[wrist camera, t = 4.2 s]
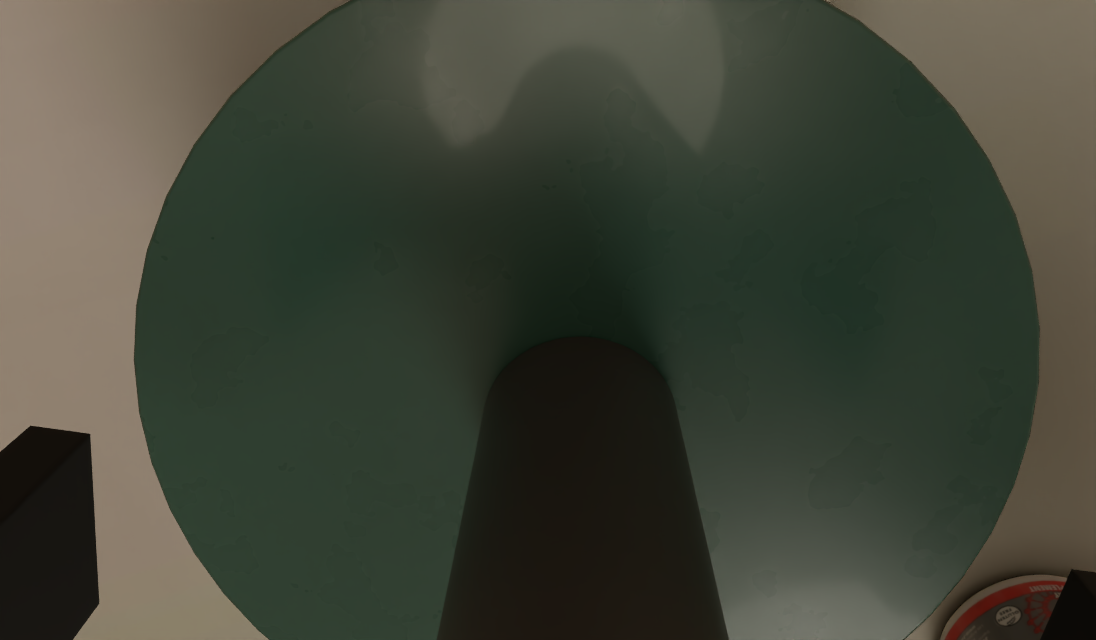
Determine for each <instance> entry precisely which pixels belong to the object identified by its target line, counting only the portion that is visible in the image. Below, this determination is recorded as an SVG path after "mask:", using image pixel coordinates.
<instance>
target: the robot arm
mask: <svg viewBox="0 0 1096 640" xmlns="http://www.w3.org/2000/svg"><path fill="white" fill-rule="evenodd" d="M98 604H99V591H98V572H97V554H96V535H95V516H94V498H93V479H92V460H91V442H90V434H87V433H80V432H72V431H65V430H58V429H51V428H43V427H36V426H30V427H29V428H27V429H26V430H25V431H24V432H23V433H22V434H20V435H19V436H18V437H17V438H16V439H15V440H13V441H12V442H11V443H10V444H9V445H8V446H7V447H5V448H4V449H3V450H2V451H1V452H0V640H73V639H74V637H75V636H76V635H77V633H78V632H79V630H80V629H81V628H82V626H83V625H84V624H85V622H86V621H87V619H88V618H89V617H90V615H91V614H92V613H93V611H94V610H95V609H96V607H97V606H98ZM1040 640H1096V573H1095V572H1088V571H1081V570H1074V569H1071V571H1070V574H1069V576H1068V578H1067V580H1066V582H1065V585H1064V587H1063V589H1062V591H1061V594H1060V596H1059V598H1058V600H1057V603H1056V605H1055V607H1054V609H1053V612H1052V614H1051V616H1050V618H1049V621H1048V623H1047V625H1046V627H1045V629H1044V632H1043V634H1042V636H1041V638H1040Z"/></svg>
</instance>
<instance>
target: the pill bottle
mask: <svg viewBox="0 0 1096 640" xmlns="http://www.w3.org/2000/svg"><path fill="white" fill-rule="evenodd" d="M1066 580H1067V578H1065V577H1060V576H1053V575H1027V576H1021V577H1015V578H1011V579H1008V580H1004V581H1001V582H998V583H996V584H993V585H991V586H989V587H987V588H985V589H983V590H982V591H980V592H978V593H976V594H975V595H974V596H972V597H971V598H970V599H968V600H967V601H966V602H964V603H963V604H962V605H961V606H960V607H959V608H958V609H957V611H956V612H955V613H954V614H953V615H952V617H951V618H950V619H949V621H948V622H947V624H946V626H945V628H944V630H943V632H942V635H941V638H940V640H1040V638H1041V636H1042V634H1043V632H1044V629H1045V627H1046V625H1047V623H1048V621H1049V618H1050V616H1051V614H1052V612H1053V609H1054V607H1055V605H1056V603H1057V600H1058V598H1059V596H1060V594H1061V591H1062V589H1063V587H1064V585H1065V582H1066Z"/></svg>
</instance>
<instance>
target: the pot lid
mask: <svg viewBox="0 0 1096 640" xmlns="http://www.w3.org/2000/svg"><path fill="white" fill-rule="evenodd" d="M1039 338H1040V326H1039V318H1038V311H1037V304H1036V296H1035V289H1034V281H1033V274H1032V268H1031V265H1030V262H1029V258H1028V255H1027V251H1026V248H1025V245H1024V241H1023V238H1022V235H1021V231H1020V228H1019V224H1018V221H1017V218H1016V214H1015V212H1014V210H1013V208H1012V206H1011V204H1010V202H1009V199H1008V197H1007V195H1006V193H1005V191H1004V189H1003V187H1002V185H1001V183H1000V180H999V178H998V176H997V174H996V172H995V170H994V168H993V166H992V164H991V162H990V160H989V158H988V157H987V155H986V154H985V152H984V151H983V149H982V148H981V146H980V145H979V143H978V142H977V140H976V139H975V137H974V136H973V135H972V133H971V132H970V130H969V129H968V127H967V126H966V124H965V123H964V121H963V120H962V118H961V117H960V115H959V114H958V112H957V111H956V110H955V108H954V107H953V106H952V105H951V104H950V103H949V102H948V101H947V100H946V99H945V97H944V96H943V95H942V94H941V93H940V92H939V91H938V90H937V89H936V88H935V87H934V86H933V85H932V84H931V82H930V81H929V80H928V79H927V78H926V77H925V76H924V75H923V74H922V73H921V72H920V71H919V70H918V69H917V67H916V66H915V65H914V64H913V63H912V62H911V61H910V60H908V59H907V58H906V57H905V56H903V55H902V54H901V53H900V52H898V51H897V50H896V49H895V48H893V47H892V46H891V45H889V44H888V43H887V42H886V41H884V40H883V39H882V38H881V37H879V36H878V35H877V34H876V33H874V32H873V31H872V30H870V29H869V28H868V27H867V26H865V25H864V24H863V23H862V22H860V21H859V20H857V19H856V18H854V17H852V16H850V15H849V14H847V13H845V12H843V11H842V10H840V9H838V8H836V7H835V6H833V5H831V4H829V3H828V2H826V1H824V0H350V1H348V2H346V3H345V4H343V5H341V6H339V7H337V8H335V9H333V10H331V11H329V12H328V13H327V14H325V15H324V16H323V17H321V18H320V19H318V20H317V21H316V22H314V23H313V24H312V25H310V26H309V27H308V28H306V29H305V30H303V31H302V32H301V33H299V34H298V35H297V36H295V37H294V38H292V39H291V40H290V41H288V42H287V43H286V44H284V45H283V46H281V47H280V48H279V49H277V50H276V51H275V52H274V53H273V54H272V55H271V56H270V57H269V58H268V59H267V60H266V61H265V62H264V63H263V64H262V65H261V66H260V67H259V68H258V69H257V70H256V71H255V72H254V73H253V74H252V75H251V76H250V77H249V78H248V79H247V80H246V81H245V82H244V83H243V84H242V85H241V86H240V87H239V88H238V89H237V90H236V91H235V92H234V93H232V94H231V96H230V97H229V98H228V100H227V101H226V102H225V104H224V105H223V106H222V108H221V109H220V110H219V112H218V113H217V114H216V116H215V117H214V118H213V120H212V121H211V122H210V124H209V125H208V126H207V128H206V129H205V130H204V132H203V133H202V134H201V136H200V137H199V138H198V140H197V141H196V142H195V144H194V145H193V147H192V149H191V151H190V153H189V155H188V157H187V158H186V160H185V162H184V164H183V166H182V168H181V170H180V172H179V173H178V175H177V177H176V179H175V181H174V183H173V185H172V186H171V188H170V190H169V192H168V194H167V196H166V198H165V201H164V204H163V207H162V210H161V212H160V215H159V218H158V221H157V224H156V226H155V229H154V232H153V235H152V238H151V240H150V243H149V246H148V249H147V253H146V258H145V263H144V268H143V274H142V279H141V284H140V289H139V294H138V299H137V304H136V325H135V347H134V365H135V375H136V385H137V395H138V405H139V413H140V417H141V422H142V426H143V430H144V434H145V438H146V442H147V446H148V450H149V454H150V458H151V462H152V465H153V467H154V470H155V472H156V475H157V477H158V480H159V483H160V485H161V488H162V490H163V493H164V495H165V498H166V500H167V503H168V505H169V508H170V510H171V512H172V514H173V516H174V517H175V519H176V521H177V523H178V525H179V526H180V528H181V530H182V532H183V534H184V535H185V537H186V539H187V541H188V543H189V544H190V546H191V548H192V550H193V552H194V553H195V555H196V556H197V558H198V559H199V560H200V562H201V563H202V564H203V566H204V567H205V568H206V570H207V571H208V573H209V574H210V575H211V577H212V578H213V579H214V581H215V582H216V583H217V585H218V586H219V588H220V589H221V590H222V592H223V593H224V594H225V595H226V596H227V597H228V599H229V600H230V601H231V602H232V603H233V604H234V605H235V606H236V607H237V608H238V609H239V610H240V611H241V612H242V614H243V615H244V616H245V617H246V618H247V619H248V620H249V621H250V622H251V623H252V624H253V625H254V626H255V627H256V629H257V630H258V631H260V632H261V633H262V634H263V635H264V636H266V637H267V638H268V639H269V640H904V639H906V638H907V637H908V636H909V635H910V634H911V633H912V632H913V631H914V630H915V629H916V628H917V627H918V626H919V625H921V624H922V623H923V622H924V621H925V620H926V619H927V618H928V617H929V616H930V615H931V614H932V613H933V612H934V610H935V609H936V608H937V607H938V606H939V605H940V603H941V602H942V601H943V600H944V599H945V597H946V596H947V595H948V594H949V593H950V592H951V590H952V589H953V588H954V587H955V586H956V584H957V583H958V582H959V581H960V580H961V579H962V577H963V576H964V575H965V573H966V571H967V570H968V568H969V567H970V565H971V564H972V562H973V561H974V559H975V558H976V556H977V555H978V553H979V551H980V550H981V548H982V547H983V545H984V544H985V542H986V541H987V539H988V538H989V536H990V535H991V533H992V531H993V529H994V527H995V525H996V522H997V520H998V518H999V516H1000V514H1001V512H1002V510H1003V508H1004V506H1005V504H1006V502H1007V499H1008V497H1009V495H1010V493H1011V491H1012V489H1013V487H1014V484H1015V481H1016V478H1017V475H1018V471H1019V468H1020V465H1021V462H1022V459H1023V456H1024V453H1025V449H1026V446H1027V443H1028V440H1029V437H1030V432H1031V426H1032V420H1033V414H1034V408H1035V402H1036V396H1037V390H1038V384H1039Z"/></svg>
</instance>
